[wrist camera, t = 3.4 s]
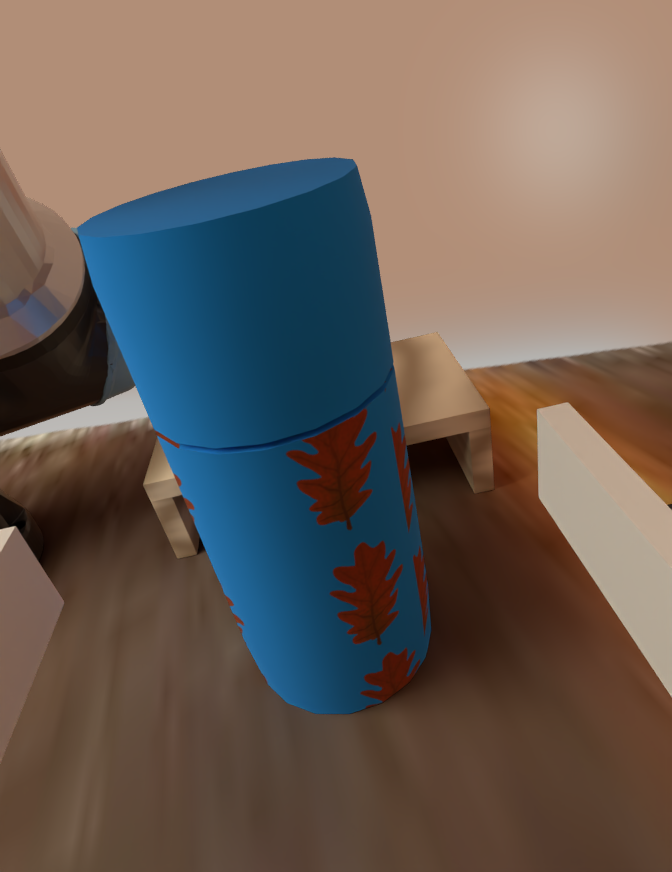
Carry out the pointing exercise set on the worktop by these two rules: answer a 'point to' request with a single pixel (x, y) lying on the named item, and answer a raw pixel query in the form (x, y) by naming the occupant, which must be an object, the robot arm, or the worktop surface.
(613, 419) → the worktop surface
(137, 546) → the worktop surface
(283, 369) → the thermos
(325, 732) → the worktop surface
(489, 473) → the stool
